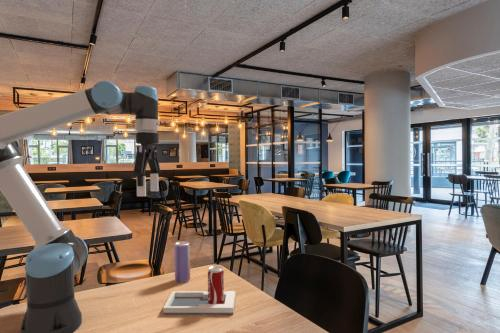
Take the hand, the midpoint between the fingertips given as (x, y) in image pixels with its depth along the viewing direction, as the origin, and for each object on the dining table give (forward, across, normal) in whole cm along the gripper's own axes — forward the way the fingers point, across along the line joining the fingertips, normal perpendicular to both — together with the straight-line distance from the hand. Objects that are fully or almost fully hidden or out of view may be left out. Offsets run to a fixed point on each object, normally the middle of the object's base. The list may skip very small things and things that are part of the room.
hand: (148, 193), depth 110 cm
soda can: (+36, -6, -24) cm, 44 cm away
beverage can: (+37, +15, -8) cm, 41 cm away
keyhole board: (+37, -6, -19) cm, 42 cm away
